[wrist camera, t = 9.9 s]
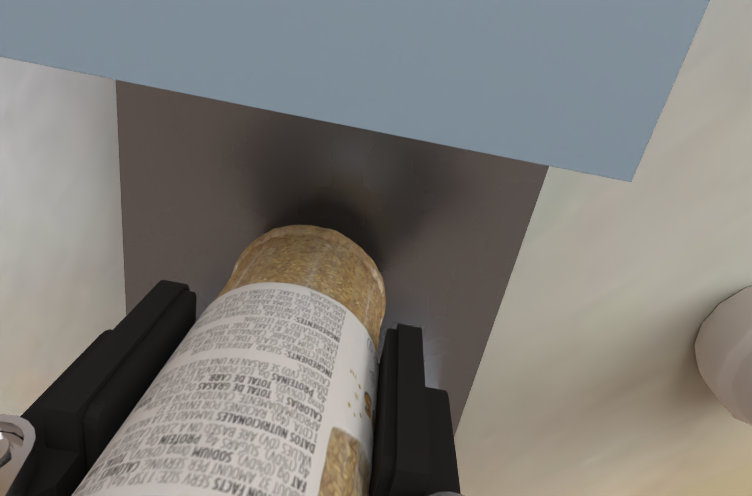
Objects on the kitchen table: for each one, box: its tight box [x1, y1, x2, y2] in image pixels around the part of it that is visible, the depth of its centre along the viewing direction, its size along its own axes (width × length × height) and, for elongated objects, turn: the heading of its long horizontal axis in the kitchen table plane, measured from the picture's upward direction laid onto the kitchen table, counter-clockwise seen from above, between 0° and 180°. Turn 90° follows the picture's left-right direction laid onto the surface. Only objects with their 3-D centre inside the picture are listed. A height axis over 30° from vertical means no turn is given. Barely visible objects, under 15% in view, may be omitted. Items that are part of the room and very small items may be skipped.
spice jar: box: [72, 225, 386, 496], centre depth 8 cm, size 5×5×14 cm
